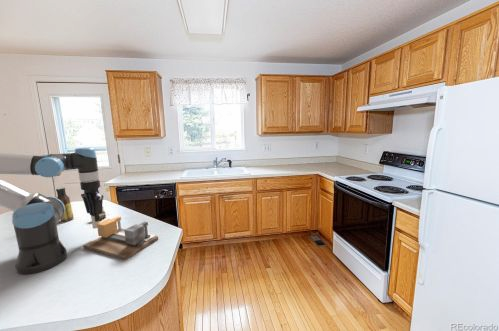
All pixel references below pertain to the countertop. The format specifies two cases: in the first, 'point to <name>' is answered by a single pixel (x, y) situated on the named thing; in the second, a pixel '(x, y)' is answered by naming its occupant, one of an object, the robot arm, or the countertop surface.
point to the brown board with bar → (123, 242)
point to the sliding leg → (108, 227)
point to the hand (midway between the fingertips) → (96, 227)
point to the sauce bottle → (65, 204)
